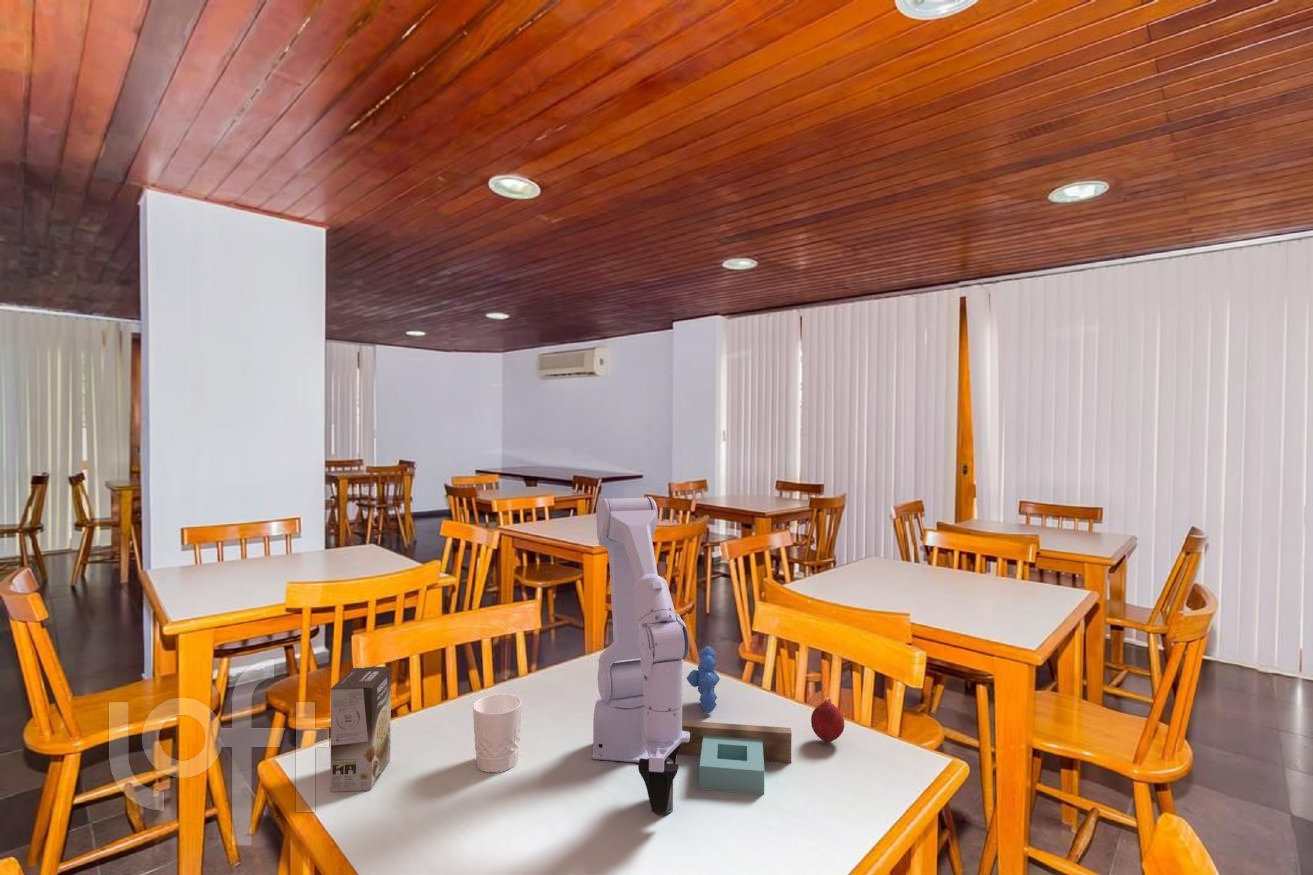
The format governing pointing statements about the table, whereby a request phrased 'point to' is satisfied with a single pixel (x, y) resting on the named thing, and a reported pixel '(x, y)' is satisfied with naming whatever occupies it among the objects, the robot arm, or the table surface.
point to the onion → (827, 721)
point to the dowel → (670, 802)
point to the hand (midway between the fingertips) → (662, 794)
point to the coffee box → (360, 728)
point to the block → (732, 765)
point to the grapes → (705, 679)
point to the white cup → (497, 731)
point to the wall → (772, 737)
